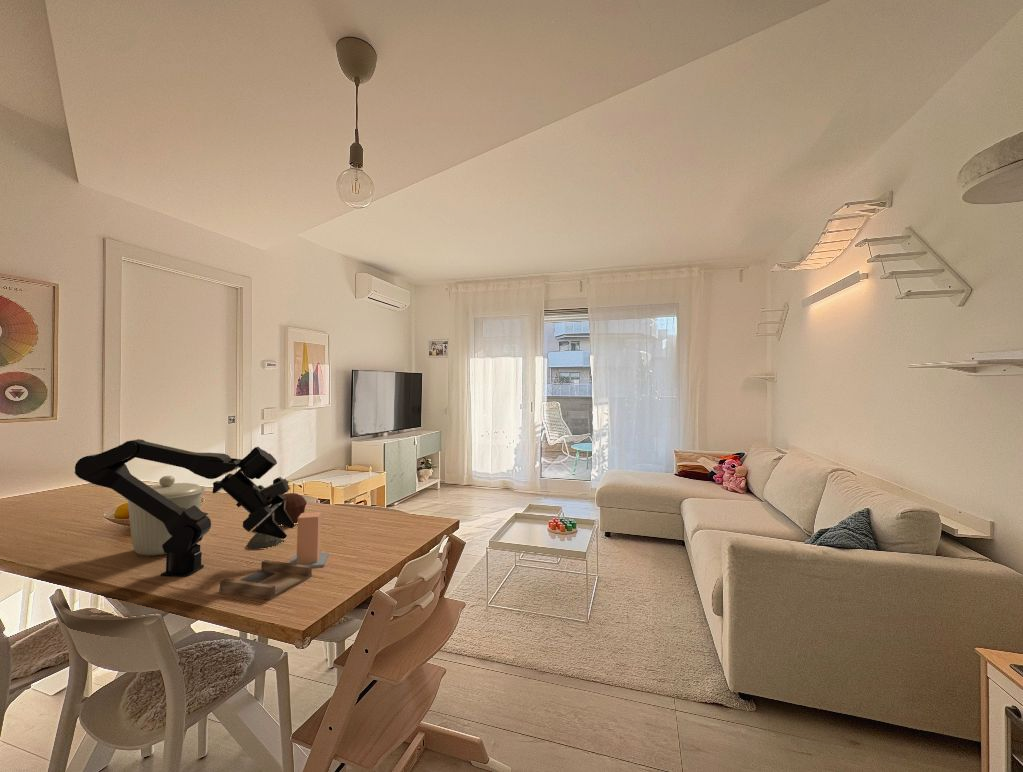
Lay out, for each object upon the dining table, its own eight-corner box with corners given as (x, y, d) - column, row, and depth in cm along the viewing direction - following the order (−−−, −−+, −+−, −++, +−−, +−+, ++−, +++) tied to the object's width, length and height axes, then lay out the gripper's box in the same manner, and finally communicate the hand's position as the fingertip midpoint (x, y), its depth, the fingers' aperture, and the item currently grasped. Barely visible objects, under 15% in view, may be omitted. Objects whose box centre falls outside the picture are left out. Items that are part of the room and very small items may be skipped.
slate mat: (286, 569, 111) (286, 567, 111) (293, 557, 119) (293, 555, 119) (323, 566, 113) (323, 564, 113) (328, 554, 122) (328, 552, 122)
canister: (145, 541, 130) (148, 471, 131) (213, 537, 135) (215, 469, 135) (105, 564, 113) (109, 483, 113) (185, 558, 117) (188, 480, 118)
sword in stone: (259, 552, 123) (259, 509, 124) (241, 549, 126) (241, 507, 127) (290, 541, 132) (290, 502, 133) (272, 539, 136) (272, 500, 136)
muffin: (281, 517, 157) (282, 490, 158) (312, 518, 157) (312, 491, 158) (263, 527, 146) (264, 497, 146) (295, 528, 146) (296, 498, 146)
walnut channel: (219, 591, 98) (219, 580, 98) (265, 570, 110) (265, 559, 110) (270, 600, 94) (270, 588, 94) (311, 576, 107) (312, 565, 107)
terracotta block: (296, 563, 113) (297, 517, 114) (300, 557, 118) (301, 512, 118) (317, 562, 115) (318, 516, 115) (320, 555, 119) (321, 511, 120)
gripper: (259, 475, 105) (306, 519, 108) (279, 464, 123) (319, 501, 126) (221, 509, 103) (270, 553, 106) (246, 492, 121) (288, 530, 124)
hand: (289, 532), depth 115 cm, fingers open, 9 cm apart
